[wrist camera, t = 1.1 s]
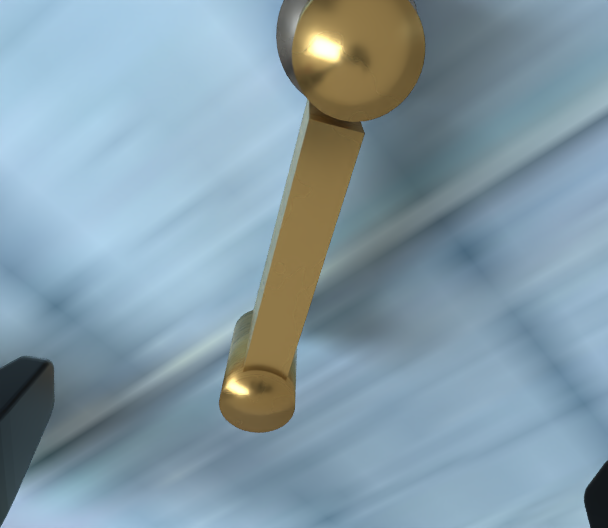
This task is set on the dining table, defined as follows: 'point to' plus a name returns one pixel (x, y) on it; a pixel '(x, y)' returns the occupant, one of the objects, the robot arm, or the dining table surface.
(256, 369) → the gold bone
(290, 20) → the grey round base
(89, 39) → the dining table surface
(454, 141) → the dining table surface
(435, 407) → the dining table surface
